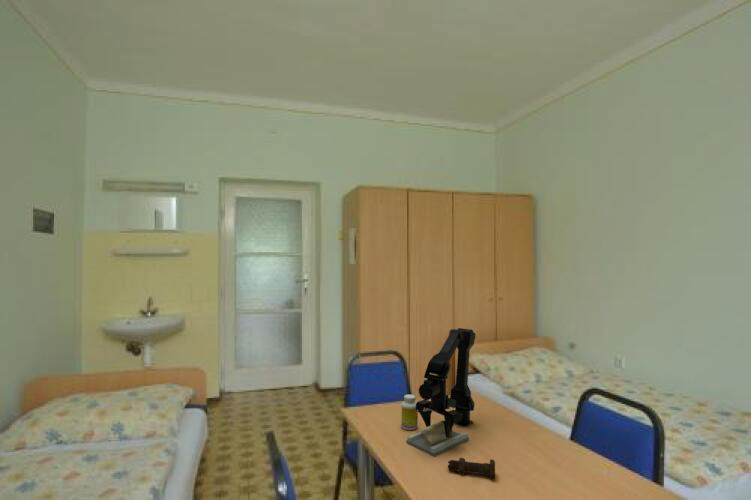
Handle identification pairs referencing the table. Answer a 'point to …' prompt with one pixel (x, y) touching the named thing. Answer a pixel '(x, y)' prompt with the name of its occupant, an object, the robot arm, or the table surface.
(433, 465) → the table surface
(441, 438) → the banded block
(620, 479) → the table surface
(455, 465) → the bolt
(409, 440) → the cradle
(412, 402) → the supplement bottle
